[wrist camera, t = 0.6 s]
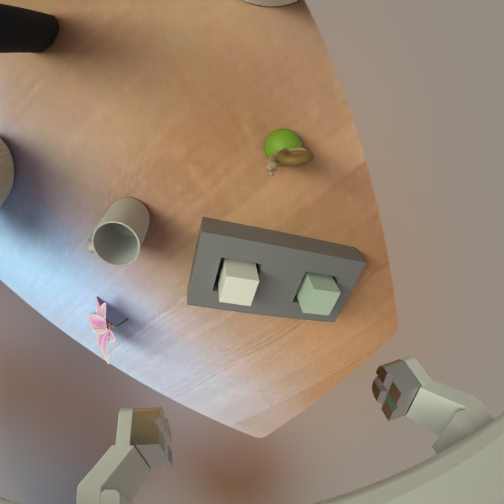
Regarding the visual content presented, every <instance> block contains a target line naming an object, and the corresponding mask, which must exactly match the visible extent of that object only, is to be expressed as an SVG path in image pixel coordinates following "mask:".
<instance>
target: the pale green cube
mask: <svg viewBox="0 0 504 504" xmlns="http://www.w3.org/2000/svg"><path fill="white" fill-rule="evenodd" d="M340 293H341V292H340V290H339V288H338V287H337V285H336V283H335V281H334V279H333V277H332V276H330V275H323V274H317V273H311V272H305V275H304V277H303V279H302V282H301V284H300V286H299V288H298V291H297V293H296V295H297V298H298V301H299V303H300V306H301V309H302V312H303V313H311V314H320V315H329V314H330V312H331V311H332V309H333V307H334V305H335V303H336V301H337V299H338V297H339V295H340Z"/></svg>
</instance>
